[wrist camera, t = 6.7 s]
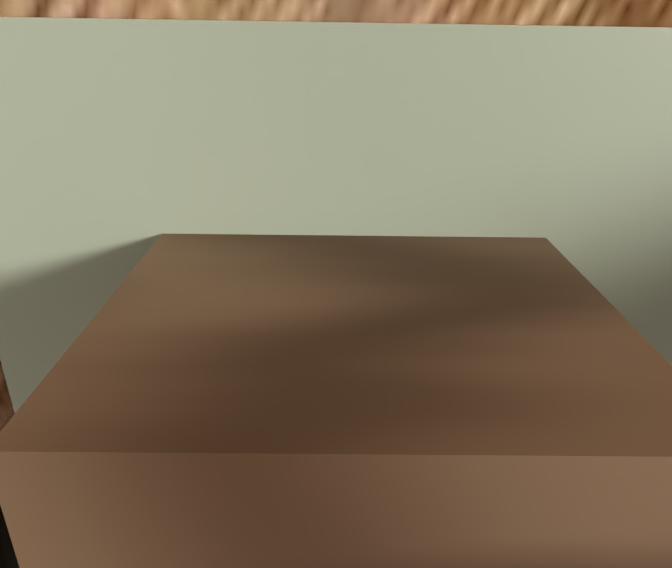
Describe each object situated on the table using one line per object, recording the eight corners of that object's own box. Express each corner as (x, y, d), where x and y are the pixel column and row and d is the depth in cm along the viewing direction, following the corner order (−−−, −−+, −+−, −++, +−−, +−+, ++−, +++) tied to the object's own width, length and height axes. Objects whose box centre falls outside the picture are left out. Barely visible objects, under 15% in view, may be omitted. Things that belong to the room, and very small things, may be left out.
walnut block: (545, 237, 9) (763, 457, 4) (496, 520, 11) (603, 847, 7) (162, 233, 9) (-16, 452, 4) (196, 518, 11) (104, 846, 7)
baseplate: (750, 29, 9) (800, 29, 8) (593, 581, 14) (611, 620, 13) (-47, 16, 9) (-92, 15, 8) (86, 577, 14) (69, 617, 13)
